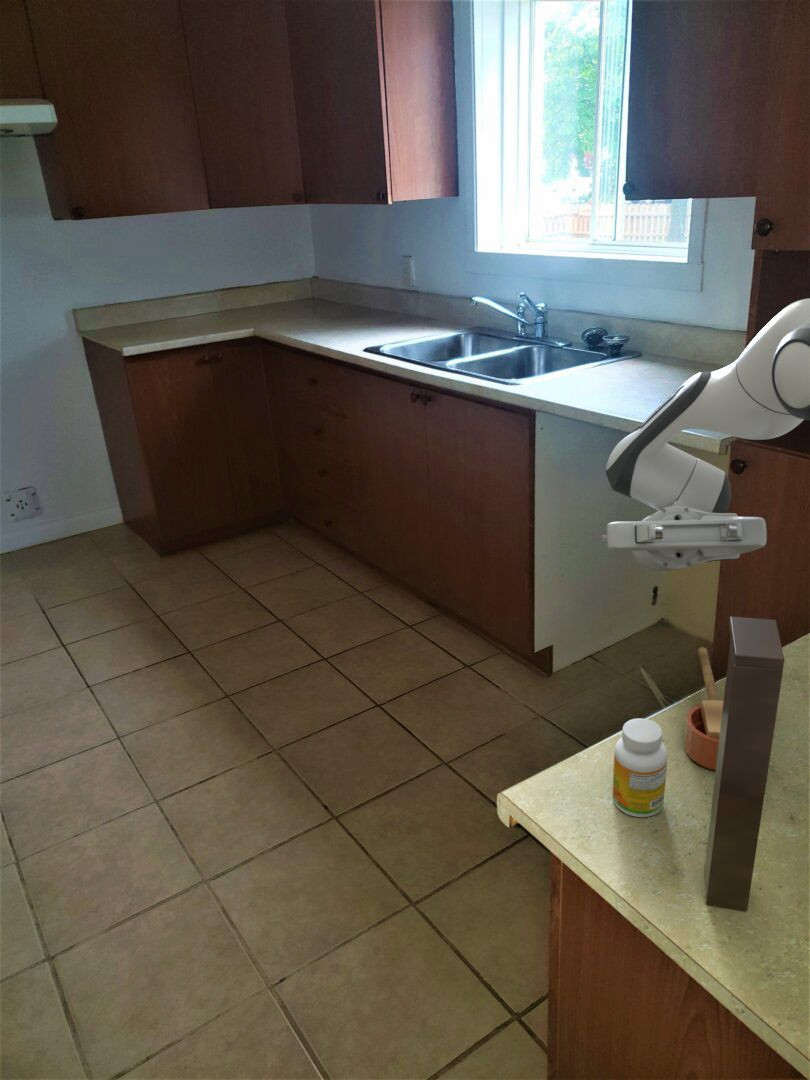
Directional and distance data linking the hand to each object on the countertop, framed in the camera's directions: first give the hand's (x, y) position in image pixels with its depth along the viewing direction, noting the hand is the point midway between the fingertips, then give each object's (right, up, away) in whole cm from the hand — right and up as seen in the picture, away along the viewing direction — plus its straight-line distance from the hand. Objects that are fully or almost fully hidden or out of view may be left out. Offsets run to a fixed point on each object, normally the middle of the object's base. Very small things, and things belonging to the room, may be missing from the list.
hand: (696, 530), depth 102 cm
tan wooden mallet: (0, -20, -4) cm, 20 cm away
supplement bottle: (-11, -30, -13) cm, 34 cm away
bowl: (0, -26, -7) cm, 27 cm away
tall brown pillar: (-6, -35, -24) cm, 42 cm away
